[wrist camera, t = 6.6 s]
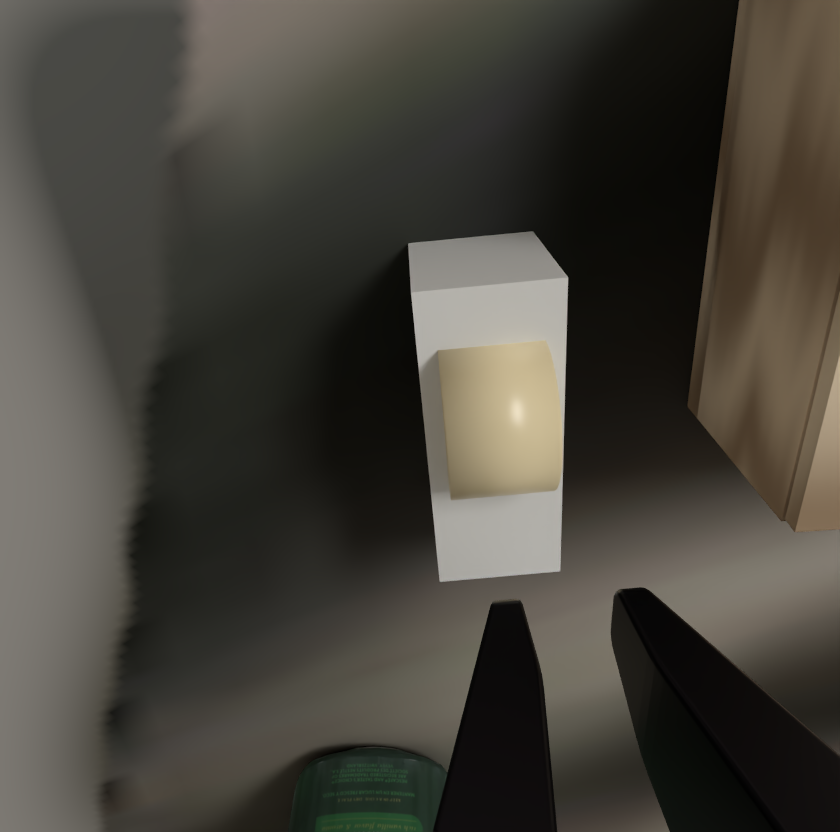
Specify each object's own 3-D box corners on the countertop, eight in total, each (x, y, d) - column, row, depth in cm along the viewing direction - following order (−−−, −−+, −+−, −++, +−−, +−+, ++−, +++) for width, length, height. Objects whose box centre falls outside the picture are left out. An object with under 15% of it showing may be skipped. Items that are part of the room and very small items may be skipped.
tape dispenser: (532, 483, 23) (576, 623, 17) (432, 492, 23) (444, 634, 17) (531, 229, 18) (591, 307, 13) (408, 242, 19) (412, 324, 13)
